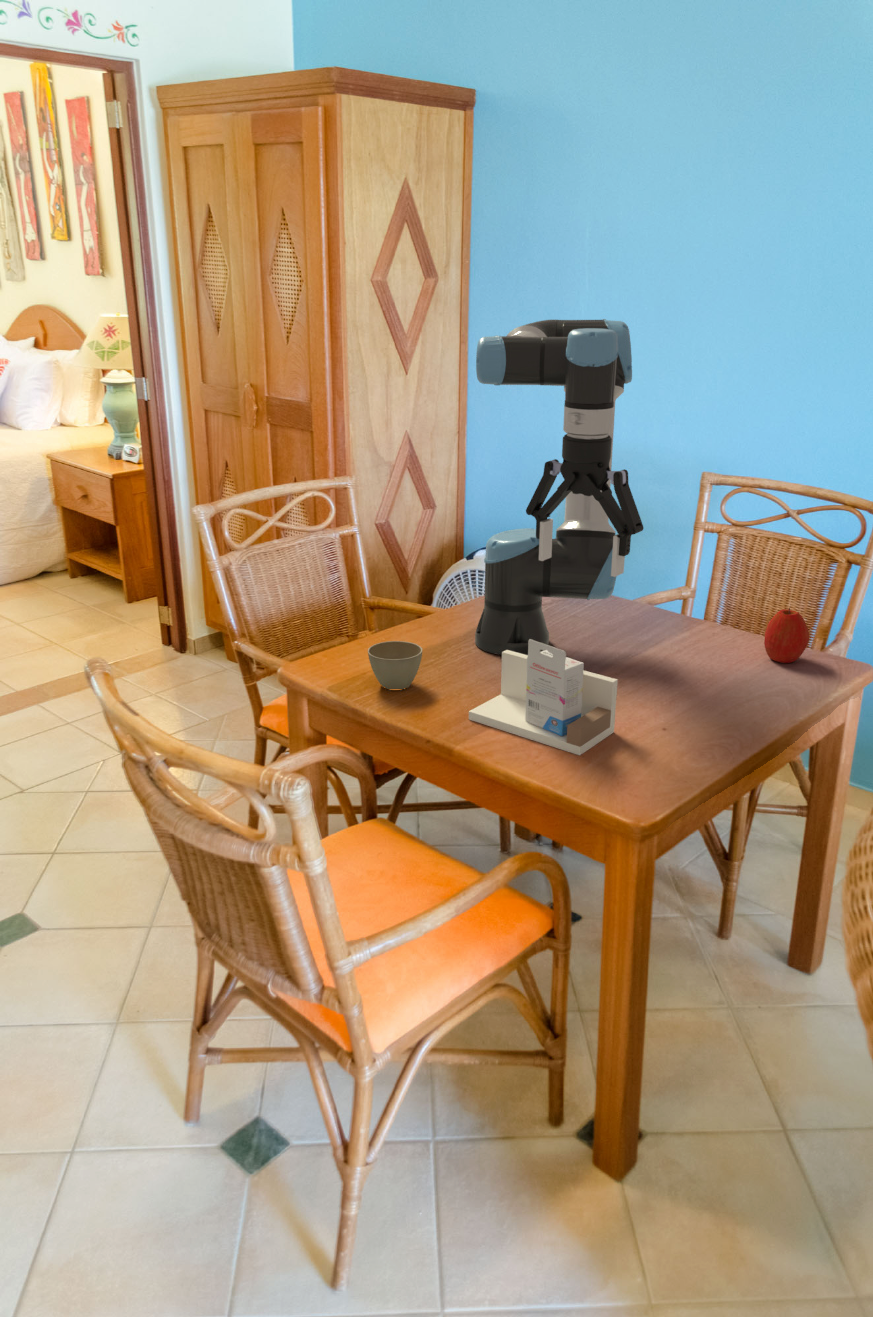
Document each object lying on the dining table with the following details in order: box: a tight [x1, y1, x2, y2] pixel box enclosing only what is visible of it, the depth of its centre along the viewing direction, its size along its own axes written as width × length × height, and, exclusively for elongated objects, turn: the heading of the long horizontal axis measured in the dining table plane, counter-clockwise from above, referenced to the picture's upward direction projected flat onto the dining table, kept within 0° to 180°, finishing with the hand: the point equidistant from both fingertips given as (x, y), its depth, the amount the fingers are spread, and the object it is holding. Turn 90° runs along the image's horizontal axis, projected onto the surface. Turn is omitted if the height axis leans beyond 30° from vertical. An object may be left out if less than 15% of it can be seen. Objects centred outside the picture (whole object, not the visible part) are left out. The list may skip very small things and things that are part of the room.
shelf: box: [468, 650, 619, 756], centre depth 170 cm, size 22×11×10 cm, turn 51°
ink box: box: [525, 639, 585, 736], centre depth 166 cm, size 8×5×15 cm, turn 42°
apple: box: [763, 607, 810, 664], centre depth 199 cm, size 8×8×11 cm
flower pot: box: [367, 640, 423, 690], centre depth 187 cm, size 10×10×7 cm
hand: (580, 566), depth 165 cm, fingers open, 13 cm apart
